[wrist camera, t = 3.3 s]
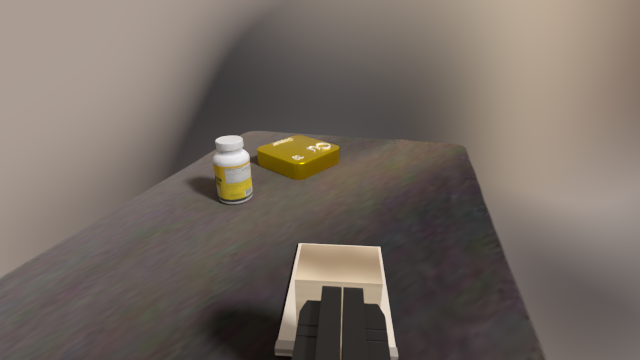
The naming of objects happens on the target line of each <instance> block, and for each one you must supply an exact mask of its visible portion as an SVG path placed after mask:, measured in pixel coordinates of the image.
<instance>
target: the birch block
mask: <svg viewBox="0 0 640 360" xmlns="http://www.w3.org/2000/svg"><path fill="white" fill-rule="evenodd" d="M322 286H336V287H342V298H341V345H340V360H341V355H342V312H343V287H353V288H363V292H364V303H368V304H378V305H379V307H381V298H382V289H383V281H382V274H381V266H380V259H379V252H378V248H377V247H355V246H332V245H310V244H302V245H301V250H300V255H299V260H298V265H297V270H296V275H295V302H296V326H297V325H298V318H299V312H300V310H301V308H302V307H303V305H304V304H305V303H306V301H307V300H317V301H321V294H322Z"/></svg>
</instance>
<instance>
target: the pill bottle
mask: <svg viewBox="0 0 640 360" xmlns="http://www.w3.org/2000/svg"><path fill="white" fill-rule="evenodd" d="M215 143H216V148H217V149H218V152H217V153H216V154H215V155H214V156H213V165H214V172H215V178H216V185H217V192H218V197H219V200H220V201H221V202H223V203H226V204H240V203H243V202H246V201H247V200H249V199H250V198H251V197H252V195H253V189H252V180H251V169H250V157H249V154H248V153H247V152H246V151H245V150H243V149H242V147H243V139H242V137H239V136H223V137H220V138H218V139H216V141H215Z"/></svg>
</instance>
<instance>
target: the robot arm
mask: <svg viewBox="0 0 640 360" xmlns="http://www.w3.org/2000/svg"><path fill="white" fill-rule="evenodd" d="M341 298H342V287H336V286H322V294H321V301H317V300H307V301H306V303H305V304H304V305H303V307H302V308H301V310H300V312H299V318H298V325H297V330H296V337H295V342H294V348H293V354H292V360H340V345H341ZM341 360H391V357H390V349H389V344H388V334H387V327H386V319H385V315H384V313H383V312H382V310H381V309H380V307H379V305H378V304H368V303H364V292H363V288H353V287H343V312H342V355H341Z"/></svg>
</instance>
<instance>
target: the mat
mask: <svg viewBox="0 0 640 360" xmlns="http://www.w3.org/2000/svg"><path fill="white" fill-rule="evenodd" d="M302 244H305V243H299V245H298V249H297V254H296V259H295V263H294V268H293V272H292V277H291V282H290V286H289V291H288V295H287V300H286V305H285V309H284V314H283V318H282V323H281V327H280V332H279V337H278V340H276V345H275V355H276V356H291V357H292V354H293V348H294V342H295V337H296V330H297V326H296V302H295V275H296V270H297V265H298V260H299V255H300V250H301V245H302ZM310 245H327V244H310ZM332 246H350V245H332ZM355 247H372V246H355ZM377 248H378V252H379V259H380V266H381V274H382V281H383V289H382V298H381V307H380V309H381V310H382V312H383V313H384V315H385V319H386V327H387V334H388V344H389V349H390V357H391V360H398V352H397V347H395V340H394V334H393V327H392V321H391V314H390V308H389V301H388V295H387V288H386V281H385V275H384V268H383V262H382V255H381V249H380V247H377Z"/></svg>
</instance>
